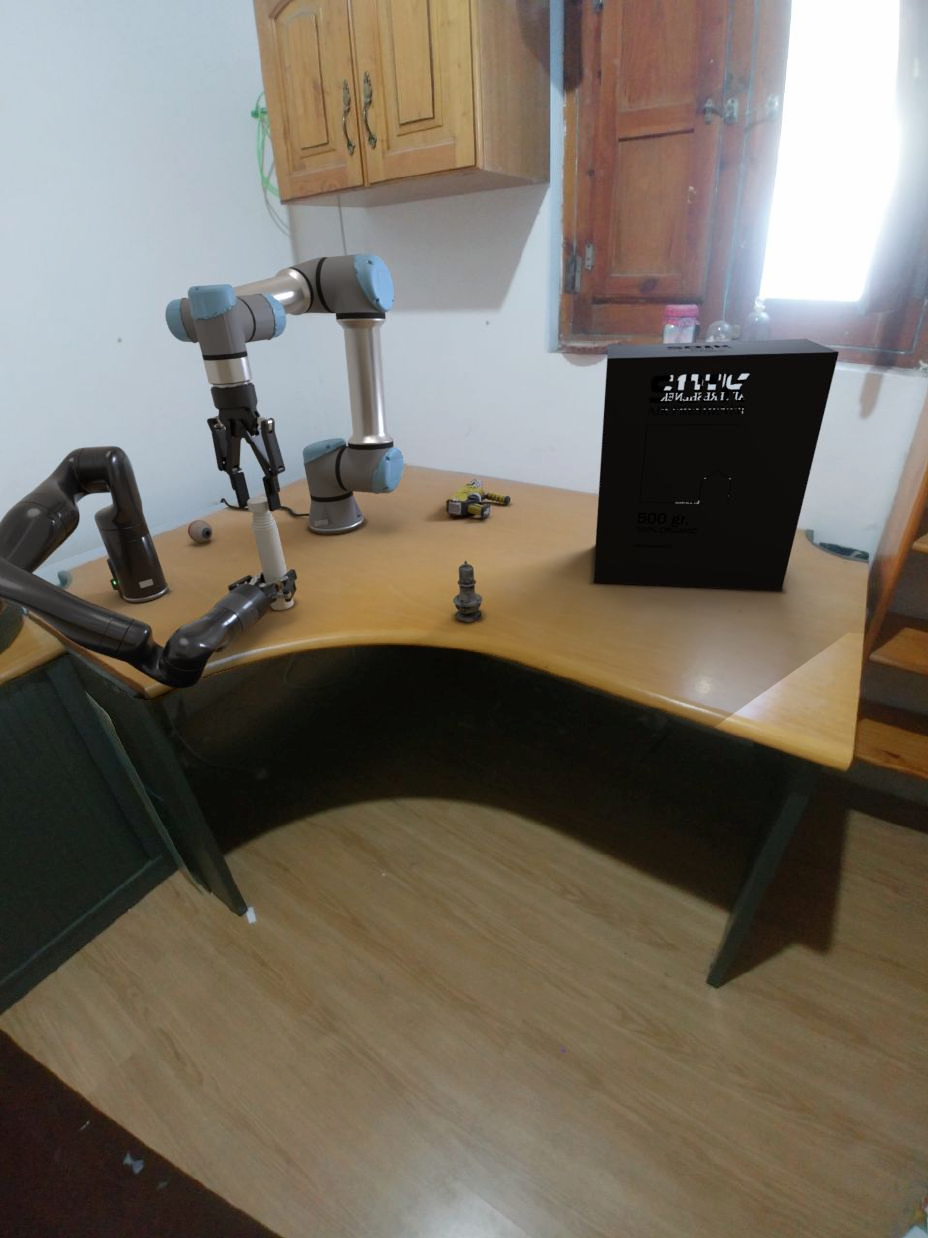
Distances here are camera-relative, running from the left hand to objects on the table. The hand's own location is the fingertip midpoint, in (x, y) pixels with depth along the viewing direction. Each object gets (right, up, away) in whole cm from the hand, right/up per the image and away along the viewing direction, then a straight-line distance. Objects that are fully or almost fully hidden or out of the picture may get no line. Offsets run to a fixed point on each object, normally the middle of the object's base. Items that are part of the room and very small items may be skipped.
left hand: (282, 572), depth 129 cm
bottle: (0, -7, +1) cm, 7 cm away
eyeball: (-32, +11, +35) cm, 49 cm away
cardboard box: (+87, +2, +7) cm, 88 cm away
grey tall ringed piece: (+40, -9, -7) cm, 41 cm away
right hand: (-1, +12, -10) cm, 16 cm away
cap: (-2, +13, -11) cm, 17 cm away
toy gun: (+44, +23, +48) cm, 70 cm away
